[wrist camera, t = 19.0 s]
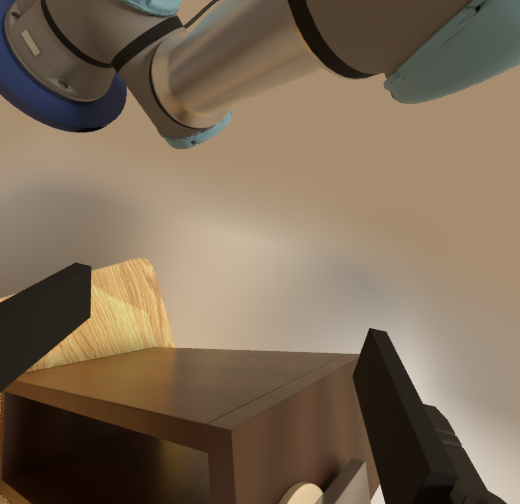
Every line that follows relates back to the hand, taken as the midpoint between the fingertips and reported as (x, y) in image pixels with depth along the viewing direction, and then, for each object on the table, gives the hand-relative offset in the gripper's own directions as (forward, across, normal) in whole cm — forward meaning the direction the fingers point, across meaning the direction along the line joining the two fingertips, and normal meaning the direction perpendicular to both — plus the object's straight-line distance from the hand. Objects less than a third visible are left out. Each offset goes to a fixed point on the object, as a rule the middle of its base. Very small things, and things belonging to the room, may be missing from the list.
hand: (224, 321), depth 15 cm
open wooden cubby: (+22, -20, -33) cm, 44 cm away
